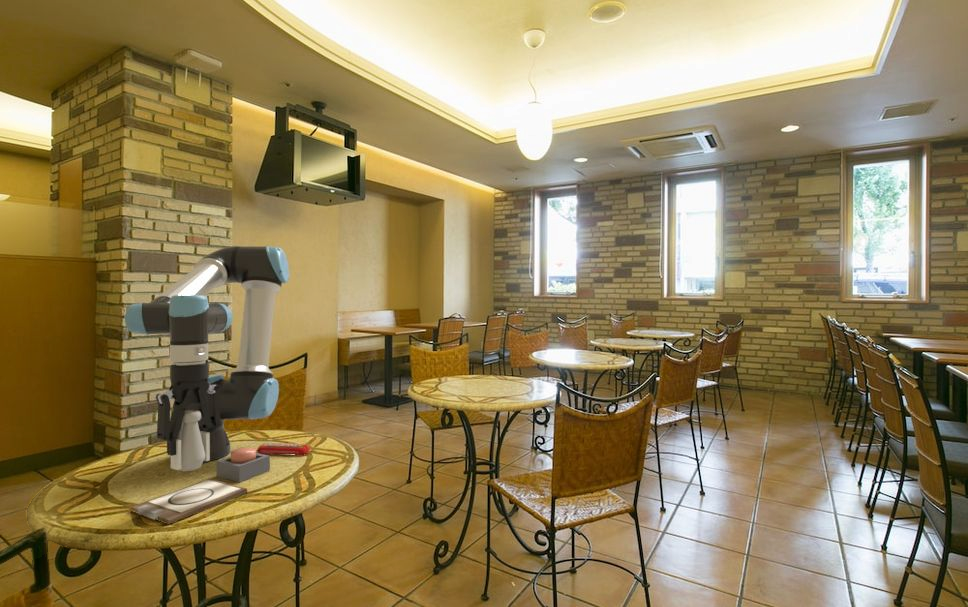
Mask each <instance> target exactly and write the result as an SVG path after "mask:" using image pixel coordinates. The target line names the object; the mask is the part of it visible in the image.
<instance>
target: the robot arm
mask: <svg viewBox="0 0 968 607" xmlns="http://www.w3.org/2000/svg"><path fill="white" fill-rule="evenodd" d="M289 279H290V267H289V261H288V258H287V255H286V253H285V251H284V250H283V249H282V248H281V247H277V246H269V245H266V246H244V245H243V246H238V245H237V246H235V245H234V246H233V245H232V246H228V247H223V248H220V249H217V250H215V251H213V252H211V253H209V254H207V255H205V256H204V257H203V256H202V258H200V259H198V260H197V262H196V263H195V264H194V266H193V269H192V270H191V271H189V272H187V273H186V274H185V275H184V276H182V277H181V278H180V279H179V280H178V281H176V282H175V283H173V284H172V285H171V286H170V287H167V289H166V290H164V291H163V292H162V293H160V294H159V295H158V296H156V297H155V298H153V299H152V300H151V301H150V302H147V303H146V302H140V303H139V302H138V303H132V304H130V305H129V306H128V307H127V308H126V310H125V313H124V323H125V326H126V329H127V330H128V331H129V332H131V334H135V335H136V334H137V335H139V334H140V335H166V334H168V335H169V362H170V363H171V365H170V366H169V380H170V387H169V388H168V391H166V392H164V393H163V392H162V393H157V394H156V395H155V399H156V403H157V405H158V406H157V421H156V422H157V423H156V425H157V426H156V438H157V439H159V440H162V441H166V454H167V455H168V456H170V469H172V470H175V471H182V470H181V469H182V468H181V440H179V438H180V432H181V427H182V420H183V417H184V413H185V411H188V410H198V411H200V412H201V419H200V420H199V421H198V426H199V430H200V434H201V438H202V442H203V446H204V450H205V459H204V460H203V463H206V462H210V461H215V460H220V459H221V458H222V459H223V458H225V457H226V456H228V455H229V454H231V451H232V450H231V448H232V447H231V442H230V439H229V437H228V434H227V432H226V429H225V425H224V424H225V423H224V421H225V420H251V421H253V420H257V419H265V418H267V417H269V416H271V414H272V413H273V412H274V411H275V408H276V406H277V403H278V399H279V393H280V388H279V386H280V384H279V381H278V380H277V379H276V378H274V372H272V370H271V369H270V368H269V367H270V366H269V365H270V356H271V344H272V336H273V323H274V315H275V314H274V313H275V303H276V294H277V293H279V292H280V291H282V284H286V283H288V282H289ZM232 283H237V284H238V283H240V286H241V288H242V289H243V290H244V291H245V295H244V302H243V303H244V304H243V312H242V323H241V331H240V337H239V338H240V339H239V348H238V356H237V363H236V364H237V366H236V367H235V369H234V368H233V370H232V371H231V372H230V377H229V378H228V379H225V377H224V375H223V374H221V373H219V374H217V373H216V374H215V373H214V374H210V373H209V372H210V370H209V369H210V367H209V366H210V364H209V363H208V362H206V361H208V360H209V335H210V334H219V333H221V332H224V331H226V330H227V329H229V327H231V325H232V323H233V320H234V318H233V317H234V316H233V312H232V310H231V309H230V308H229V307H228V306H227V305H225V304H224V303H219V302H209V300H208V297H207V295H208V294H210V292H211V291H212V290H213V289H215V288H219V287H222V286H223V285H224V284H232ZM172 398H173V399H174V401H173V405H172V408H173V409H172V412H171V401H172V400H173V399H172Z"/></svg>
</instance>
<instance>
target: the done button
mask: <svg viewBox="0 0 968 607" xmlns="http://www.w3.org/2000/svg"><path fill="white" fill-rule="evenodd" d="M256 451H257V449H256V448H255V447H252V446H247V447H240V448H236V449H234V450H231V451H230V457H231V462H233V463H237V464H243V463H246V462H249V461H251V460H254V459H256V453H257V452H256Z"/></svg>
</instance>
